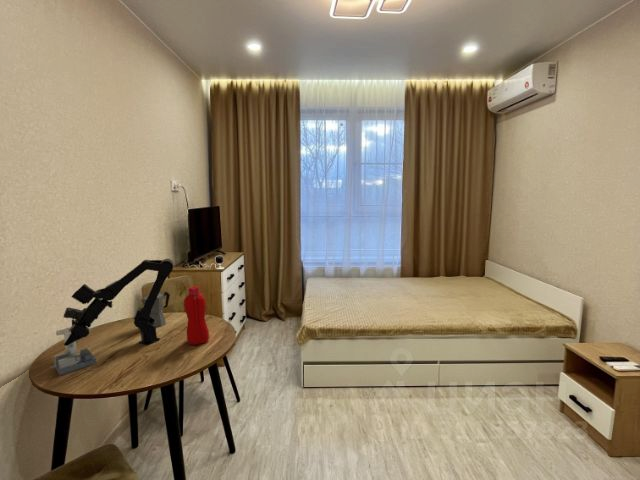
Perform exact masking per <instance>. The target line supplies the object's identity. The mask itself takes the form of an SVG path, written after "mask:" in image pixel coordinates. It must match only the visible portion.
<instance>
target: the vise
mask: <svg viewBox="0 0 640 480" xmlns="http://www.w3.org/2000/svg"><path fill="white" fill-rule="evenodd" d="M96 364H97V358H96V357H95V356H94V355H93V353H92V352H91V351H90V350H89V349H88V348H83V349H79V354H77V355H76V356H71V352H70V351H68V352H66V351H64V352H61V353H58V354H55V355H54V362H53V368H54V369H55V370H56V372H57V374H58V375H59V376H63V375H66V374H69V373H72V372H75V371H77V370H81V369H84V368H87V367H89V366H93V365H96Z"/></svg>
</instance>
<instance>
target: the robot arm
mask: <svg viewBox="0 0 640 480" xmlns="http://www.w3.org/2000/svg"><path fill="white" fill-rule="evenodd" d="M174 266H175V262H174V261H173V260H172V259H171V258H164V259H161V260H160V259H152V260H151V259H144V260H142V262H141V263H139V264H138V265H137V266H135V267H134V268H132V269H131V270H130V271H129V272H127V273H126V274H125V275H123V276H122V277H121V278H120V279H119V278H118V280H115V281H114V282H112V283H110V284H108V285H106V286H105V287H103V288H99V289H96V291H95V289H93V288H91V287H89V286H88V285H87V284H85V283H83V284H82V285H81V286H80V288H78V289H77V290H76V291H75V292H74V293H73V294H72V295H71V298H72V299H74V300H75V301H78V302H79V303H80V304H82V305H87V307H84V308H83V309H79V308H72V307H66V308H65V310H64V312H63V313H64V314H63V316H62V317H63V318H64V319H71V327H72V328H71V334H70V336H69V337H68V339H67V340H66V342H65V341H64V344H63V345H64V347H65V346H67V345H69V344H71V343H73V342H75V341H76V342H77V341H78V340H81V339H82V338H87V337H88V336H89V334H90V328H91V326H92V324H93V322H94V321H95V320H98V319H99V316H100V315H101V314H102V312H103V311H104V310H105V309H106V308H107V307H108V308H110V309H111V308H113V300H114V299H115V298H116V297H117V296H118V295H119V294H120V293H121V292H122V290H123V289H124V288H125V287H126V286H128V285H129V284H131V282H133V281H135V279H137V278H138V277H139V276H140V275H142V274H143V273H144V272H145V271H153V272H157V274H156V279H155V281H154V283H153V285H152V288H151V289H150V292H149V293H148V295H149V296H148V295H147V296H148V298H147V300H146V302H145V304H144V303H143V306H142V307H140V306H138V308H137V309H136V313H135V315H134V317H133V320H134V321H133V324H134V327H136V328H138V330H139V331H140V340H139V341H138V343H139V344H141V345H147V346H148V345H151V344H153V343H156V342H158V341H159V340H161V338H160V337H158V336H157V327H156V328H155V326H154V324H155V321H156V320H155V319H153V318H152V317H150V316H151V312H152V307H153V305H154V303H155V301H156V299H157V296H158V294H160V292H161V290H162V287H163V286H164V283H165V281H166V280H167V278H168V277H169V275H170V274H171V273H172V271H173V269H174Z"/></svg>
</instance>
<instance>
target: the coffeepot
mask: <svg viewBox="0 0 640 480" xmlns="http://www.w3.org/2000/svg"><path fill="white" fill-rule="evenodd" d="M148 296H149V294H148V295H146V296H143V298H141V299H140V302H142V303H143V305H144V304H145V302H146V300H147V298H148ZM170 296H171V295H170V293H169V292H168V291H164V292H161V293H160V292H159V294H158V296H157V299H156V301H155V303H154V305H153V307H152V312H151V316H150V317H152V318H153V319H155V320H156V321H155V324H154V326H155V328H156V329H157V328H160V327H162V326H163V327H164V326H165V325H166V323H167V322H166V318H165V315H164V311H163V309H166V308H168V306H169V301H170ZM164 297H166V298H165V303H164ZM164 304H165V305H164Z"/></svg>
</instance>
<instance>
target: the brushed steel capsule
mask: <svg viewBox="0 0 640 480" xmlns="http://www.w3.org/2000/svg"><path fill="white" fill-rule="evenodd" d="M71 328H72V327H70V326H69V327H66V328H64V329H59V330H56V332H55V333H56V334H55V335H56V336H61V335H63V337H64V338H63V339H64V343H65V342H66V340H67V339H68V337H69V336H70V334H71ZM64 347H65V352H68V351H70V352H71V356H76V355H78V348H77V341H75V342H73V343H71V344H69V345H67V346H65V345H64Z"/></svg>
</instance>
